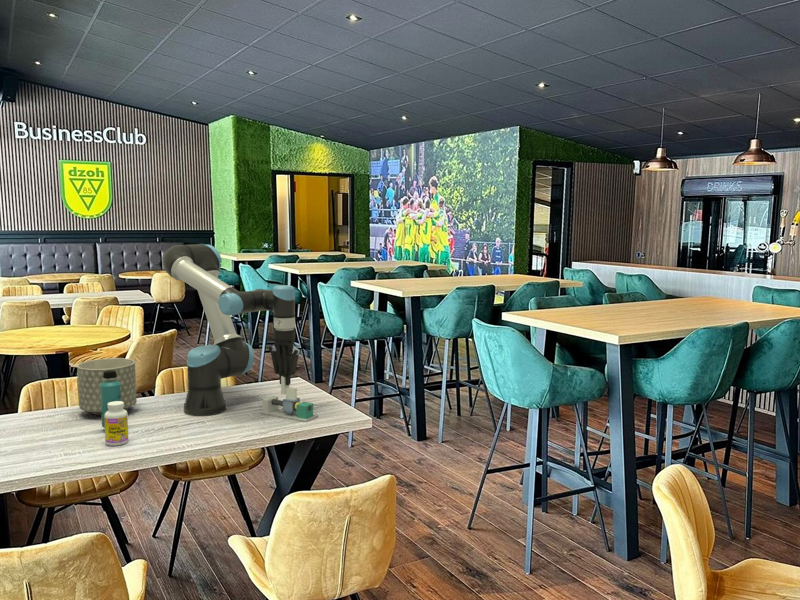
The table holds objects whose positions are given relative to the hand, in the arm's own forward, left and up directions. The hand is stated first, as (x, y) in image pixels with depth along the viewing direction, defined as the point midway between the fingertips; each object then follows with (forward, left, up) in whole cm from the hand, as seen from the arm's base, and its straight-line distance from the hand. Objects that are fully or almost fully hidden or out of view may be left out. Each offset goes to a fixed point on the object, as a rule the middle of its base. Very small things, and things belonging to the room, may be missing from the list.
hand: (285, 393), depth 235 cm
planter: (-57, -29, -8) cm, 65 cm away
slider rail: (+2, 0, -8) cm, 8 cm away
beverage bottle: (-39, -42, -8) cm, 58 cm away
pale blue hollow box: (+3, 0, -6) cm, 7 cm away
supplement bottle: (-27, -50, -8) cm, 57 cm away
